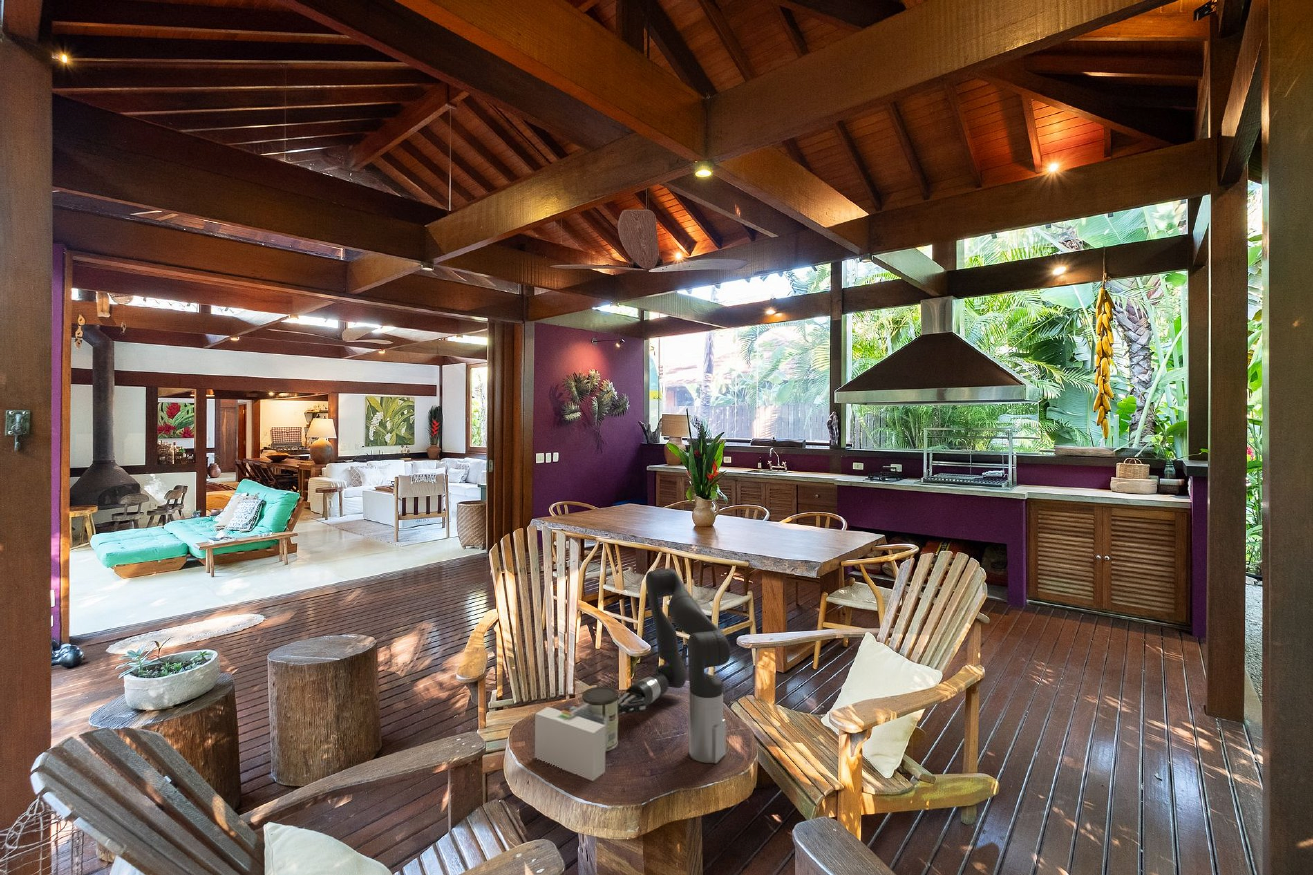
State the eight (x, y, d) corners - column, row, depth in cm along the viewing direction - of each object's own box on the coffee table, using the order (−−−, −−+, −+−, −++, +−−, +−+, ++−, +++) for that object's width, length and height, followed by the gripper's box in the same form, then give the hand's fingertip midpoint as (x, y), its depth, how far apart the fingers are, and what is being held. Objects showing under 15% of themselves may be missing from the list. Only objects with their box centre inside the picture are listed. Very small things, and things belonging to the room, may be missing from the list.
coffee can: (589, 732, 173) (590, 684, 174) (623, 737, 171) (623, 688, 171) (576, 749, 163) (576, 698, 164) (611, 755, 161) (611, 703, 161)
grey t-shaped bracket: (606, 749, 160) (607, 707, 160) (588, 763, 153) (588, 718, 153) (572, 738, 166) (573, 697, 166) (553, 750, 159) (553, 707, 160)
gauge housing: (605, 771, 153) (605, 724, 153) (593, 781, 148) (593, 732, 148) (547, 750, 163) (548, 706, 163) (534, 758, 159) (535, 713, 159)
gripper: (626, 676, 190) (593, 695, 175) (661, 685, 183) (629, 705, 168) (626, 699, 190) (592, 720, 175) (661, 709, 182) (629, 732, 168)
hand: (610, 713), depth 171 cm, fingers closed
